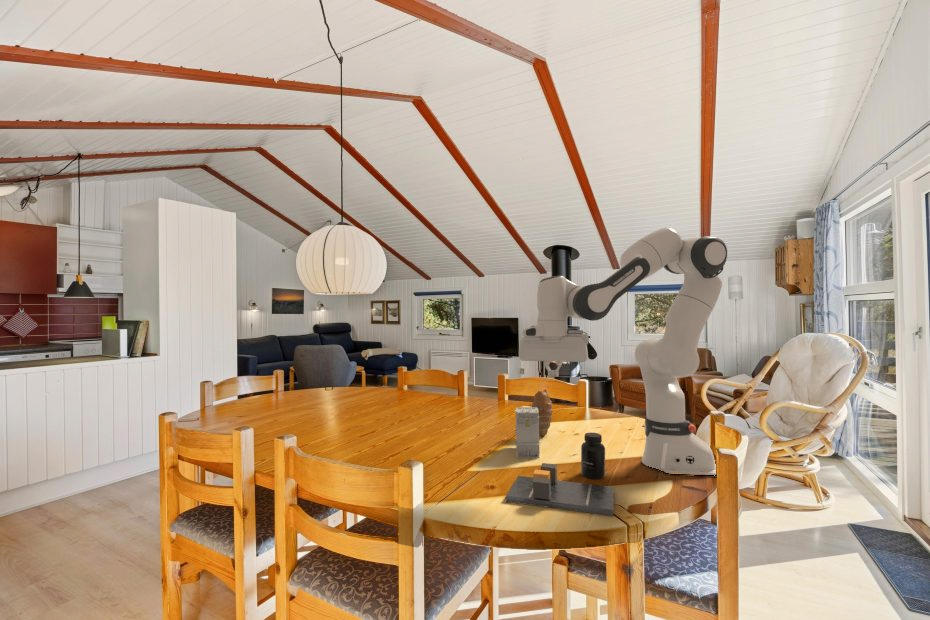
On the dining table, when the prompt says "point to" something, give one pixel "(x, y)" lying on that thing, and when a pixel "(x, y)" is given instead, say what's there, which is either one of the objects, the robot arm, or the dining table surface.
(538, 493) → the toggle
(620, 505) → the dining table surface
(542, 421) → the brown ribbed ovoid
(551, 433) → the dining table surface
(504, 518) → the dining table surface
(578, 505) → the panel
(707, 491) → the dining table surface
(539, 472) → the toggle
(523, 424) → the circuit breaker
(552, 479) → the toggle
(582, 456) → the supplement bottle
